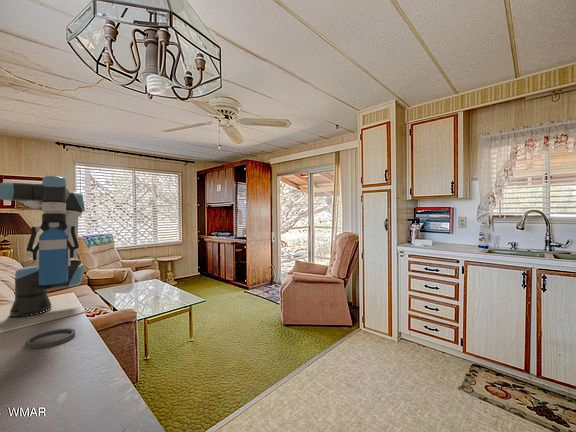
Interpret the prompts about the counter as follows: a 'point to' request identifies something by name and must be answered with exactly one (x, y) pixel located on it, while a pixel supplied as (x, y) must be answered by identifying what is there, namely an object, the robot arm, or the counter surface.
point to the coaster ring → (50, 338)
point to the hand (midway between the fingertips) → (54, 267)
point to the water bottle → (53, 256)
